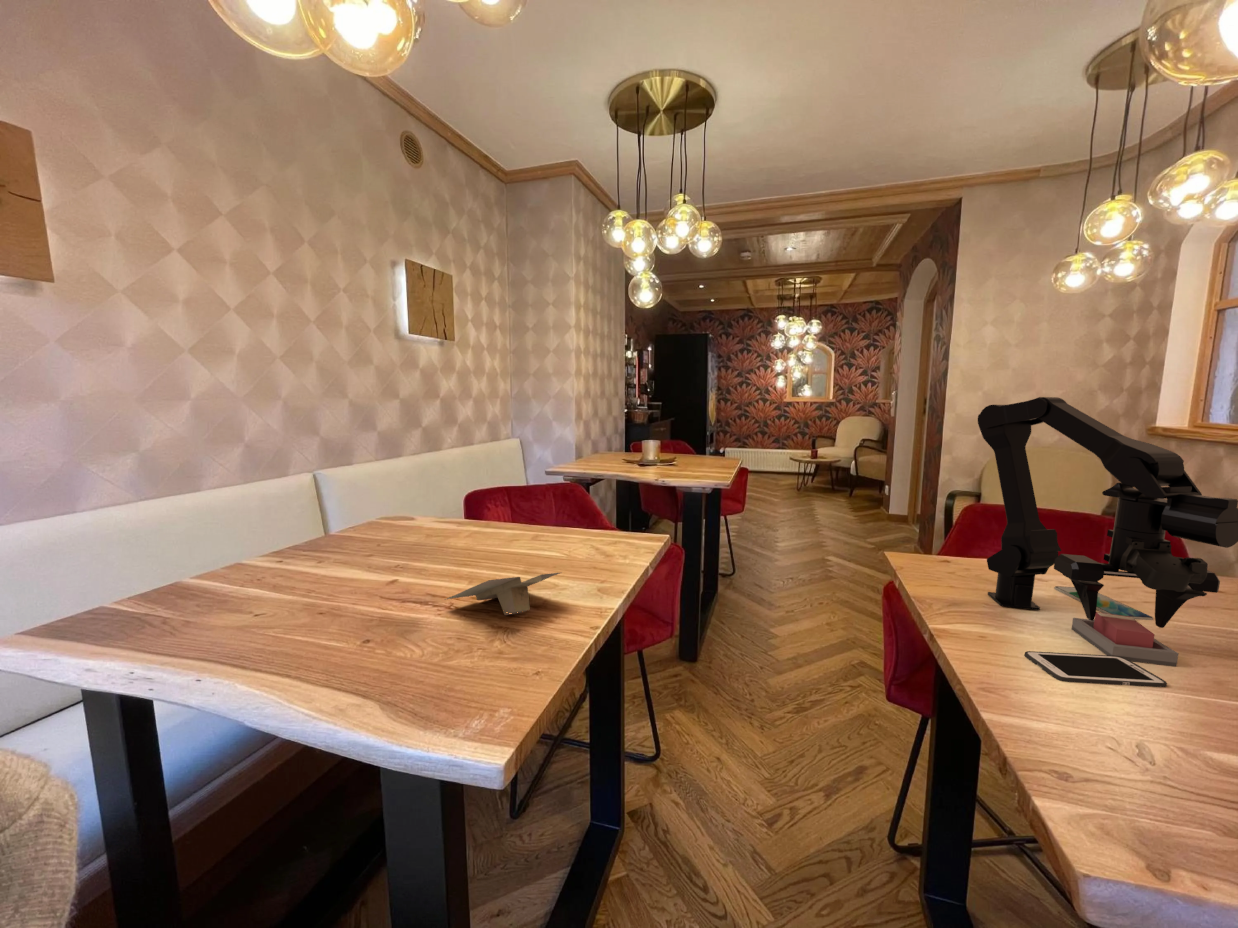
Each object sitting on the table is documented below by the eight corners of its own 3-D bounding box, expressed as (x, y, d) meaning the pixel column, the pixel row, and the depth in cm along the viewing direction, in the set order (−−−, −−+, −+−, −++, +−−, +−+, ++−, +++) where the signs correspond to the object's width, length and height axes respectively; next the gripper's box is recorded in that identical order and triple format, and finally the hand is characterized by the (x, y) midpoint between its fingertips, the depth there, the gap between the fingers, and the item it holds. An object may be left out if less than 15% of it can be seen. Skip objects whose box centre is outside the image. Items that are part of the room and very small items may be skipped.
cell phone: (1021, 656, 81) (1021, 650, 81) (1121, 661, 80) (1122, 655, 80) (1058, 683, 73) (1059, 677, 73) (1170, 690, 72) (1171, 683, 72)
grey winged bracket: (452, 645, 89) (493, 609, 81) (441, 598, 93) (479, 559, 85) (531, 631, 101) (574, 597, 92) (518, 589, 105) (558, 554, 96)
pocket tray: (1071, 629, 90) (1073, 617, 90) (1127, 635, 88) (1129, 623, 88) (1111, 658, 80) (1113, 645, 80) (1176, 666, 78) (1178, 653, 78)
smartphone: (1088, 587, 109) (1156, 618, 94) (1087, 591, 109) (1155, 622, 94) (1052, 585, 110) (1114, 615, 95) (1051, 589, 110) (1113, 620, 95)
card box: (1151, 655, 80) (1154, 633, 79) (1113, 649, 81) (1117, 628, 81) (1126, 636, 86) (1130, 615, 86) (1092, 631, 88) (1095, 611, 87)
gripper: (1100, 537, 76) (1086, 637, 78) (1263, 549, 71) (1242, 655, 73) (1058, 520, 87) (1046, 608, 89) (1196, 529, 82) (1180, 622, 84)
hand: (1124, 623), depth 83 cm, fingers open, 9 cm apart
